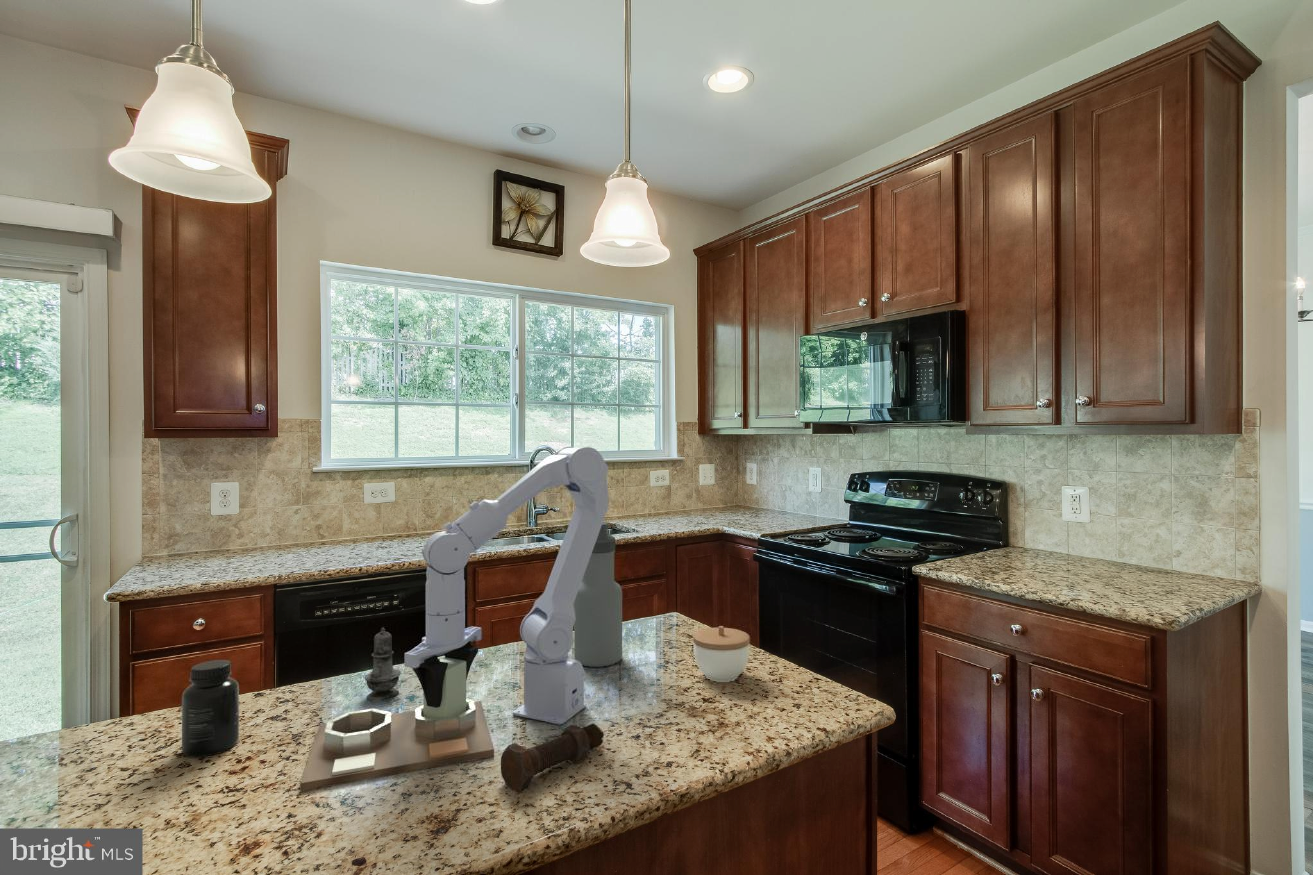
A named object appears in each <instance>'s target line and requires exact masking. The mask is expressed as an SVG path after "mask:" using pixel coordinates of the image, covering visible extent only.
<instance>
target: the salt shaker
mask: <svg viewBox="0 0 1313 875" xmlns="http://www.w3.org/2000/svg"><path fill="white" fill-rule="evenodd" d="M385 630H386V629H385V627H384V626H382V627H381V629H380V631H379V632H378V633H376V634H375V636H374V638H373V653H371V657H373V667H372V670H371V672H369V673H367V674H366V675H365V676H364V680H365V681H366V687H367V688H368V689H369V690H371V692H369V693H367V695H366V700H367V701H369V702H375V703H376V702H377V703H379V702H385V701H389V700H392V699H395V698H396V697H398V696H399V694H400V691H399V690H398V689H396V688H395V687H396V686H397V685H398V682H399V679H400V676H401V674H402V673H401V670H398V669H396V668H395V669H394V667H393V654H394V653H395V652H394V650H392V644H393V642H392V636H393V635H392V634H391V633H390V632H388V631H385Z"/></svg>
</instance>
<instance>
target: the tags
mask: <svg viewBox="0 0 1313 875" xmlns="http://www.w3.org/2000/svg"><path fill="white" fill-rule="evenodd" d="M429 750H430V758H435V757H441V756H447V755H452V754H458V753H464V752H468V747H467V741H466V738H461V739H455V740H449V741H443V742H437V743H431V744H429ZM375 756H376V753H371V754H365V755H359V756H353V757H347V758H341V759H335V762H334V767H333V771H332V775H338V774H343V773H349V772H355V771H361V770H366V769H372V768H374V765H375Z"/></svg>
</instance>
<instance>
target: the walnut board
mask: <svg viewBox="0 0 1313 875" xmlns="http://www.w3.org/2000/svg"><path fill="white" fill-rule="evenodd" d="M474 705H475V709H476V725H475V726H474V727H473V728H471V729H469V730H468V731H466V732H464V733H463V734H461V735H459V736H453V737H447V738H441V739H434V740H433V739H429V738H425V737H421V736H417V735H416V733H415V710H410V711H404V712H398V713H397V712H396V713H391V739H390V740H388V741H386V742H385V743H383V744H381V745H379V746H377V747H376V748H374V749H372V750H368V751H362V752H356V753H350V754H344V755H343V754H338V753H334V752H331V751H327V750H325V729H326V726H327V723H323V724H319V726H318V729H317V733H316V735H315V739H314V742H313V745H312V748H311V751H310V754H309V757H308V759H307V763H306V765H305V769H304V772H303V776H302V779H301V782H300V792H303V791H308V790H309V791H310V790H315V789H319V788H327V787H331V786H335V785H342V784H347V783H353V782H354V783H355V782H359V781H363V780H369V779H370V780H371V779H376V778H380V777H386V776H392V775H398V774H403V773H408V772H409V773H410V772H414V771H419V770H420V771H421V770H425V769H431V768H437V767H443V766H447V765H453V764H459V763H465V762H470V761H475V760H481V759H487V758H493V757H495V748H494V745H493V741H492V737H491V733H490V730H489V726H488V722H487V719H486V714H485V712H484V707H483V705H482V701H481V700H477V701H474ZM370 729H372V727H371V728H364V729H358V730H351V731H348V732H346V733H345V734H348V733H354V732H361V731H367V730H370ZM461 738H466V741H467V747H468V752H464V753H458V754H452V755H447V756H441V757H435V758H430V750H429V744H431V743H437V742H443V741H449V740H455V739H461ZM371 753H376V756H375V765H374V768H372V769H366V770H361V771H355V772H349V773H343V774H338V775H332V771H333V767H334V762H335V759H341V758H347V757H353V756H359V755H365V754H371Z"/></svg>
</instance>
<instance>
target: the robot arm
mask: <svg viewBox="0 0 1313 875" xmlns="http://www.w3.org/2000/svg"><path fill="white" fill-rule="evenodd" d="M609 469H610V468H609V466H608V465H607V463H606V461H605V459H604V458H603V455H602V453H600V452H599V450H597V449H596V448H594V447H589V446H582V447H572V446H564V447H562V448H560V449H558V450H557V451H556V452H555V453H554V454H550V455H548V456H547V457H545V458H544V459H543V460H542V461H540V462H539V463H538V464H537V465H536V466H534V467H533V468H532V469H531V470H530V471H529V472H527V473H526V474H525V475H524V476H523V477H521V478H520V479H519V480H518V481H516V482H515V483H514V484H513V485H512V486H511V487H510V488H508V489H506V490H505V492H503V493H502V494H501V495H500V496H498V497H497V498H496V499H495V500H491V499H482V500H481V501H480V502H478V501H473V502H471V503H470V504H469V505H468V506H469V510H468V511H466V512H465V513H464V514H463V515H461V516H460V517H458V518H457V519H456V520H455V521H453V522H452V523H451V522H447V523H445V524H444V525H443V527H444V529H445V530H442V531H438V532H435V533H433V534H431V535H430V536H429V537H428V538H427V540H426V541H425V544H424V546H423V549H422V550H421V554H422V558H423V559H424V561H425V563H427V564H428V565H426V572H425V574H426V582H425V636H423V637H422V638H421V642H420V643H419V644H418V645H417V646H415V647H414V648H412V649H411V650H409V651H407V652H404V667H405V668H411V669H412V671H413V672H414V674H415V676H417V679H418V681H419V683H420V686H421V688H422V692H424V696H425V699H426V703H427V706H430V707H435V708H438V707H440V705H441V701H442V688H443V680H444V676H445V672H446V669H447V666H448V663H446V662H440V659H441V658H439V657H440V656H442V655H444V657H446V658H452V659H457V660H463V661H466V681H467V680H468V676H469V673H470V670H471V667H472V665H473V662H474V661H475V658H476V657H477V655H478V653H479V646H478V645H475V644H474V645H473V644H472V643H473V642H479V641H481V640H482V627H478V626H469V627H466V606H465V605H466V599H465V596H466V594H465V590H466V580H465V579H464V578H465V567H466V566H467V564H468V562H469V560H470V556H471V554H473V553H475V552H477V551H478V550H479V549H481V548H482V547H483V546H484V545H485V544H487V543H488V542H489V541H490V540H492V539H493V538H494V537H495V536H497V535H499V533H501V532H502V531H503V530H505V529H506V528H507V524H508V523H507V522H508V518H509V516H510V515H511V514H513V513H514V512H516V511H517V510H518V509H520V508H522V506H524V505H525V504H527V503H528V502H530V501H531V500H532V499H533V498H534V497H537V496H538V495H539V494H540V493H543V491H545V490H546V489H548V488H551V487H560V486H561V487H562V486H564V487H565V488H566V489H567V490H568V492H569V494H570V496H571V499H572V500H573V502H574V504H575V508H574V510H573V512H572V516H571V519H570V521H569V524H568V527H567V529H566V533H565V535H564V538H563V540H562V543H561V546H560V547H559V551H558V554H557V556H556V559H555V562H554V564H553V567H552V570H551V573H550V575H549V578H548V581H547V584H546V586H545V589H544V591H543V593H542V594H541V595H540V596H539V597H537V599H536V600H535V601H534V602H533V605H532V608H531V610H530V611H529V613H527V614H526V615H525V616H524V617H523V619H522V621H521V624H520V627H519V635H520V637H521V638H520V639H521V640H522V641H523V643H525V645H526V648H525V651H524V653H523V704H522V705H521V706H519V707H517V708H516V709H514V710H513V711H512V715H513V716H517V717H523V718H527V719H532V720H536V721H543V722H546V723H550V724H555V725H562V724H564V723H565V722H567V721H568V720H570V719H571V718H572V717H574V716H575V715H576V714H578V713H579V712H580V711H581V710H583V709H584V708H585V707H587V703H586V702H585V683H584V682H585V673H584V666H583V665H582V664H581V662H579V661H577V660H575V658H572V657H571V656H570V655H569V653H570V651H571V649H572V647H573V645H574V635H573V634H574V632H573V630H574V623H575V612H574V601H575V598H576V595H577V593H578V590H579V587H580V584H581V582H582V579H583V576H584V573H585V570H586V568H587V565H588V562H589V559H590V556H591V554H592V551H593V548H594V545H595V543H596V540H597V537H598V534H599V531H600V529H601V526H602V523H603V522H604V519H605V517H606V514H607V512H608V509H609V505H610V499H609V498H610V497H609V488H608V479H607V475H608V474H609V473H608V472H609Z"/></svg>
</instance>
